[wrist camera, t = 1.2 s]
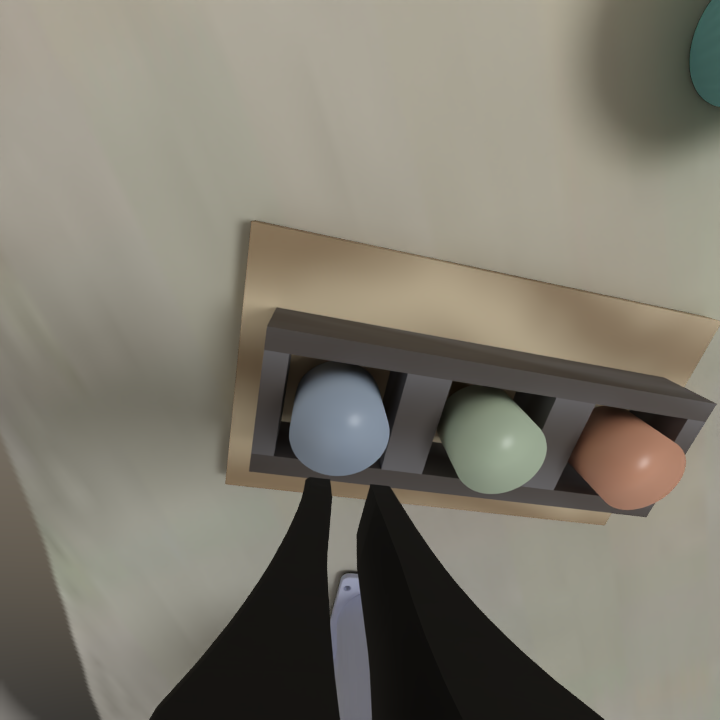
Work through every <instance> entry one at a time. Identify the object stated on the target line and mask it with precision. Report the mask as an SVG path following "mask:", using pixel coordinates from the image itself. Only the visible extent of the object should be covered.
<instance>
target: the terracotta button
mask: <svg viewBox="0 0 720 720" xmlns="http://www.w3.org/2000/svg"><path fill="white" fill-rule="evenodd" d="M568 463H569V464H570V465H571V466H572V467H573V468H574V469H575V470H576V471H577V472H578V473H579V474H580V476H581V477H582V478H583V479H584V480H585V481H586V482H587V483H588V484H589V485H590V486H591V487H592V488H593V489H594V490H595V491H596V493H597V494H598V495H599V496H600V497H601V498H602V499H603V500H604V501H605V502H606V503H607V504H608V505H610V506H612V507H614V508H617V509H621V510H634V509H640V508H643V507H646V506H649V505H651V504H654V503H655V502H657V501H659V500H661V499H662V498H664V497H665V496H666V495H667V494H669V493H670V492H671V491H672V490H673V489H674V488H675V486H676V485H677V484H678V482H679V481H680V479H681V478H682V476H683V473H684V470H685V466H686V458H685V454H684V452H683V450H682V449H681V447H680V446H679V445H678V444H676V443H675V442H673V441H672V440H670V439H669V438H667V437H666V436H664V435H663V434H661V433H660V432H659V431H657V430H656V429H654V428H653V427H651V426H650V425H648V424H647V423H645V422H644V421H642V420H641V419H639V418H638V417H636V416H635V415H633V414H632V413H631V412H629V411H628V410H626V409H623V408H616V407H610V406H599V407H595V408H594V409H593V411H592V413H591V415H590V417H589V419H588V421H587V423H586V425H585V427H584V429H583V431H582V433H581V435H580V437H579V439H578V441H577V443H576V445H575V447H574V449H573V452H572V454H571V456H570V458H569V460H568Z"/></svg>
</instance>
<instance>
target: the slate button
mask: <svg viewBox="0 0 720 720" xmlns="http://www.w3.org/2000/svg"><path fill="white" fill-rule="evenodd" d="M289 440H290V445H291V447H292V450H293V452H294V454H295V455H296V457H297V458H298V459H299V460H300V461H301V462H302V463H303V464H304V465H305V466H307V467H308V468H310V469H311V470H313V471H316V472H318V473H321V474H324V475H330V476H345V475H351V474H355V473H358V472H360V471H362V470H364V469H366V468H368V467H369V466H371V465H372V464H374V463H375V462H376V461H377V460H378V459H379V458H380V457H381V455H382V454H383V452H384V450H385V449H386V446H387V444H388V440H389V424H388V420H387V416H386V413H385V409H384V406H383V402H382V399H381V395H380V392H379V388H378V385H377V383H376V381H375V379H374V378H373V376H372V375H371V374H370V373H369V372H368V371H367V370H365V369H364V368H363V367H361V366H359V365H353V364H347V363H341V362H335V361H329V362H325V363H322V364H320V365H317V366H316V367H314V368H312V369H311V370H310V371H308V372H307V373H306V374H305V375H304V376H303V378H302V379H301V381H300V382H299V384H298V387H297V390H296V394H295V400H294V406H293V411H292V417H291V423H290V429H289Z"/></svg>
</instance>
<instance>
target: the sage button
mask: <svg viewBox="0 0 720 720" xmlns="http://www.w3.org/2000/svg"><path fill="white" fill-rule="evenodd" d="M437 433H438V436H439V438H440V440H441V442H442V444H443V446H444V448H445V450H446V452H447V454H448V456H449V459H450V461H451V463H452V465H453V467H454V469H455V471H456V473H457V475H458V477H459V479H460V480H461V481H462V483H463V484H464V485H466V486H467V487H468V488H470V489H472V490H474V491H476V492H479V493H484V494H499V493H504V492H508V491H511V490H514V489H516V488H518V487H520V486H522V485H523V484H525V483H526V482H528V481H529V480H530V479H531V478H532V477H533V476H534V475H535V474H536V473H537V472H538V470H539V469H540V468H541V466H542V464H543V462H544V459H545V456H546V451H547V443H546V439H545V436H544V434H543V432H542V430H541V429H540V428H539V427H538V426H537V425H536V424H535V423H534V422H533V421H532V420H531V419H530V417H529V416H528V415H527V414H526V413H525V412H524V411H523V410H522V409H521V408H520V407H519V406H518V405H517V404H516V403H515V402H514V401H513V400H512V399H511V398H510V397H509V396H508V395H507V393H506V392H504V391H503V390H502V389H500V388H494V387H488V386H482V385H471V386H467V387H465V388H462V389H460V390H458V391H457V392H455V393H454V394H452V395H451V396H450V397H449V398H448V399H447V400H446V402H445V405H444V408H443V411H442V414H441V417H440V420H439V423H438V426H437Z"/></svg>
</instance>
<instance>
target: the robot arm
mask: <svg viewBox="0 0 720 720" xmlns="http://www.w3.org/2000/svg"><path fill="white" fill-rule="evenodd" d="M331 504H332V490H331V482H330V479H323V478H315V477H309V478H307V479H306V480H305V485H304V490H303V495H302V499H301V502H300V504H299V507H298V510H297V512H296V514H295V516H294V519H293V521H292V523H291V525H290V527H289V530H288V532H287V534H286V536H285V537H284V539H283V541H282V543H281V545H280V547H279V548H278V550H277V552H276V554H275V556H274V557H273V559H272V561H271V563H270V564H269V566H268V567H267V569H266V571H265V572H264V574H263V575H262V577H261V579H260V580H259V582H258V583H257V585H256V586H255V588H254V589H253V591H252V592H251V593H250V595H249V596H248V598H247V599H246V601H245V602H244V603H243V605H242V606H241V608H240V609H239V610H238V612H237V613H236V614H235V616H234V617H233V618H232V620H231V621H230V622H229V624H228V625H227V626H226V627H225V629H224V630H223V631H222V632H221V634H220V635H219V636H218V637H217V639H216V640H215V641H214V642H213V644H212V645H211V646H210V647H209V648H208V650H207V651H206V652H205V653H204V655H203V656H202V657H201V658H200V659H199V661H198V662H197V663H196V664H195V665H194V666H193V668H192V669H191V670H190V671H189V672H188V673H187V674H186V675H185V676H184V677H183V679H182V680H181V681H180V682H179V683H178V684H177V685H176V686H175V687H174V688H173V690H172V691H171V692H170V693H169V694H168V695H167V696H166V697H165V698H164V700H163V701H162V702H161V703H160V704H159V705H158V706H157V708H156V709H155V711H154V713H153V714H152V716H151V717H150V719H149V720H604V719H603V718H602V717H601V716H600V715H598V714H597V713H596V712H595V711H593V710H592V709H591V708H589V707H588V706H587V705H586V704H584V703H583V702H582V701H581V700H579V699H578V698H577V697H576V696H574V695H573V694H572V693H571V692H569V691H568V690H567V689H565V688H564V687H563V686H562V685H560V684H559V683H558V682H557V681H555V680H554V679H553V678H552V677H551V676H550V675H548V674H547V673H546V672H545V671H544V670H543V669H542V668H540V667H539V666H538V665H537V664H536V663H535V662H534V661H532V660H531V659H530V658H529V657H528V656H527V655H526V654H525V653H524V652H522V651H521V650H520V649H519V648H518V647H517V646H516V645H515V644H514V643H513V642H512V641H511V640H510V639H509V638H508V637H507V636H506V635H505V634H504V633H503V632H502V631H501V630H500V629H499V628H498V627H497V626H496V625H495V624H494V623H492V622H491V621H490V620H489V619H488V618H487V616H486V615H485V614H484V613H483V612H482V611H481V610H480V609H479V608H478V607H477V606H476V605H475V604H474V603H473V601H472V600H471V599H470V598H469V597H468V596H467V595H466V593H465V592H464V591H463V590H462V589H461V588H460V587H459V585H458V584H457V583H456V582H455V581H454V579H453V578H452V577H451V576H450V574H449V573H448V572H447V571H446V569H445V568H444V567H443V565H442V564H441V563H440V561H439V560H438V559H437V557H436V556H435V555H434V553H433V552H432V550H431V549H430V548H429V546H428V545H427V543H426V542H425V540H424V539H423V537H422V536H421V535H420V533H419V532H418V530H417V529H416V527H415V526H414V524H413V522H412V521H411V519H410V518H409V516H408V515H407V513H406V511H405V510H404V508H403V507H402V505H401V503H400V502H399V500H398V498H397V497H396V495H395V493H394V492H393V490H392V489H391V487H390V486H384V485H375V484H370V487H369V491H368V494H367V498H366V502H365V506H364V509H363V513H362V517H361V520H360V524H359V528H358V531H357V571H358V574H353V573H347V574H344V575H343V576H342V577H341V580H340V584H339V588H338V592H337V595H336V599H335V603H334V607H333V610H332V614H331V618H330V612H329V598H328V577H327V551H328V540H329V528H330V516H331Z"/></svg>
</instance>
